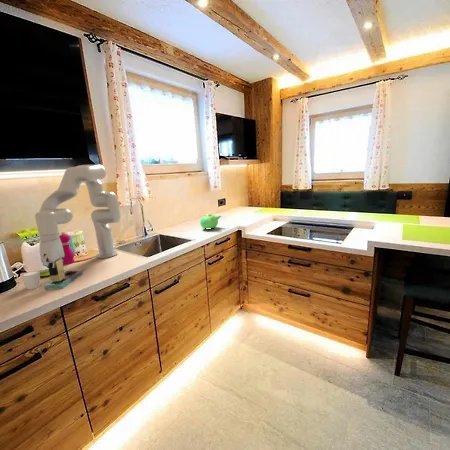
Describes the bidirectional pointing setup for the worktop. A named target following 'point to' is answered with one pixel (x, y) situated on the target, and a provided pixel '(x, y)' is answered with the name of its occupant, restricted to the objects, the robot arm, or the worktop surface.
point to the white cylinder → (31, 279)
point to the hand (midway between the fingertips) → (57, 272)
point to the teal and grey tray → (64, 280)
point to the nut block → (58, 271)
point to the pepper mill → (67, 249)
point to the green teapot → (209, 221)
